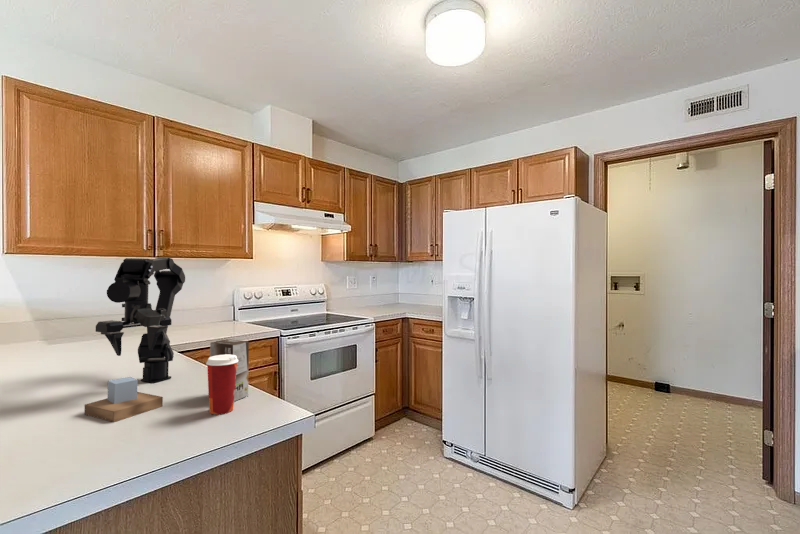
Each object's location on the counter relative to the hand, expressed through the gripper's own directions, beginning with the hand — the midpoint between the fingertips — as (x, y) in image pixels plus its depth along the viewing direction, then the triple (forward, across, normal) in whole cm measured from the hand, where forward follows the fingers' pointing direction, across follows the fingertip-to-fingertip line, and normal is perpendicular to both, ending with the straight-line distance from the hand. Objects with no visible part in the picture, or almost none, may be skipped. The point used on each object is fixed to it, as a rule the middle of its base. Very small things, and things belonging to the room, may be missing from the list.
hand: (135, 352), depth 113 cm
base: (+12, -10, -12) cm, 20 cm away
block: (+10, -10, -10) cm, 17 cm away
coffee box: (+12, +9, -28) cm, 32 cm away
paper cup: (+12, 0, -35) cm, 37 cm away
